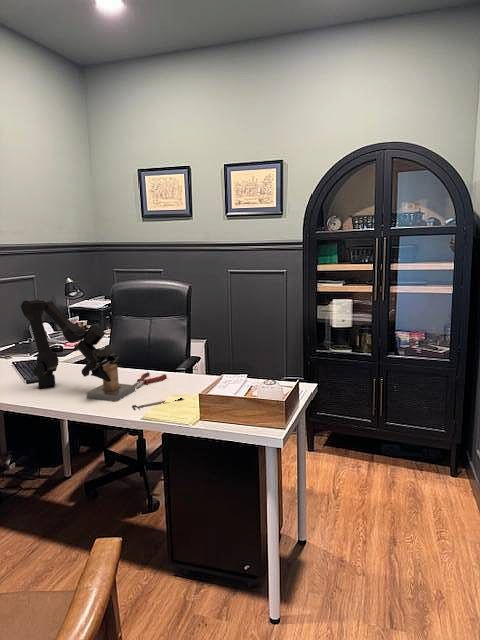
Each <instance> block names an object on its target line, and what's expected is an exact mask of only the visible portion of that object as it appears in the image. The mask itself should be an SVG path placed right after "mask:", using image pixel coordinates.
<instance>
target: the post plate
mask: <svg viewBox="0 0 480 640" xmlns="http://www.w3.org/2000/svg"><path fill="white" fill-rule="evenodd" d="M134 392H136V388H135V385H133V384H127V383H126V384H125V383H119V389H117V390H115V391H113V392H112V391H104V388H103V384H101V385H99V386H97V387H95V388H91V390H88V391H87V392H86V398H87V399H91V400H92V399H93V400H100V401H109V402H118V401H119V400H122V399H124V398H125V397H127V396H129V395H131V394H132V393H134Z"/></svg>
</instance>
